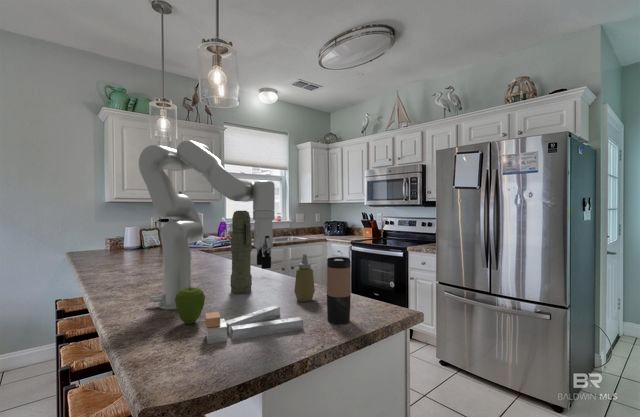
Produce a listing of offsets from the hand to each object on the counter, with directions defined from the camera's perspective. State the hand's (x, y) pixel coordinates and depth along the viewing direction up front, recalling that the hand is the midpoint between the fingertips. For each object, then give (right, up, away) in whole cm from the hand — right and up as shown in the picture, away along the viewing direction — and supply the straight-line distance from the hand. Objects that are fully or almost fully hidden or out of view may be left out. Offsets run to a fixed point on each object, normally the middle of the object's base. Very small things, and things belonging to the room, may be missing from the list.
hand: (263, 266), depth 112 cm
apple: (-21, -16, -12) cm, 29 cm away
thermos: (-14, -16, +25) cm, 33 cm away
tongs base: (+1, -16, -19) cm, 25 cm away
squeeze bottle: (+14, -16, +14) cm, 25 cm away
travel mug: (+26, -16, -10) cm, 32 cm away
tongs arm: (-1, -16, -12) cm, 20 cm away
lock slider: (-10, -12, -24) cm, 28 cm away
